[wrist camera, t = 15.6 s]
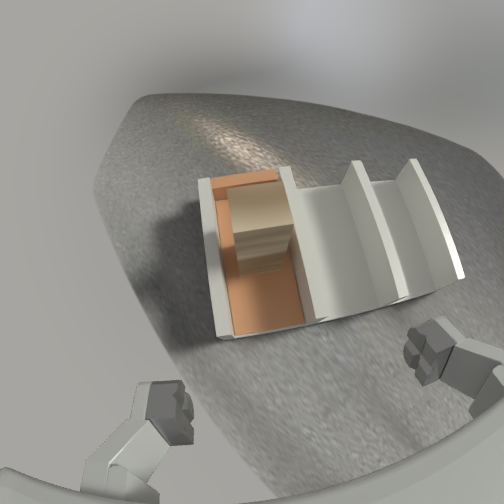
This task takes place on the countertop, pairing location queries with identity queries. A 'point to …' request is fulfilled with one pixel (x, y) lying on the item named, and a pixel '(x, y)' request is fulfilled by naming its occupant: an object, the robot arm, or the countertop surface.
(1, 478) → the robot arm
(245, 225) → the block
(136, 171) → the countertop surface
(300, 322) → the rack
